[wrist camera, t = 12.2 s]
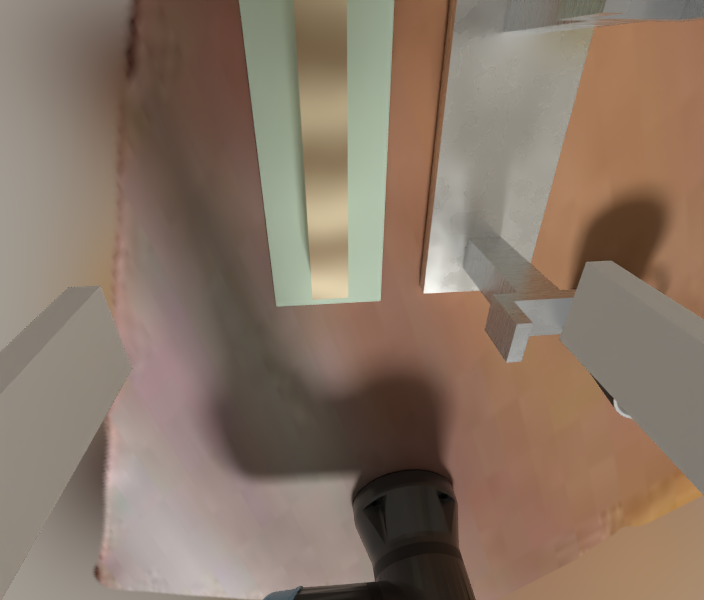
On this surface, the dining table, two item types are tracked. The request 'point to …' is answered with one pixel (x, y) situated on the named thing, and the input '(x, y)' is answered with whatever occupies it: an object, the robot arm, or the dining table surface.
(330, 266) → the wooden rail
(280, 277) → the green mat
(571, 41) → the rail stand
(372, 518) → the robot arm
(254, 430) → the dining table surface
